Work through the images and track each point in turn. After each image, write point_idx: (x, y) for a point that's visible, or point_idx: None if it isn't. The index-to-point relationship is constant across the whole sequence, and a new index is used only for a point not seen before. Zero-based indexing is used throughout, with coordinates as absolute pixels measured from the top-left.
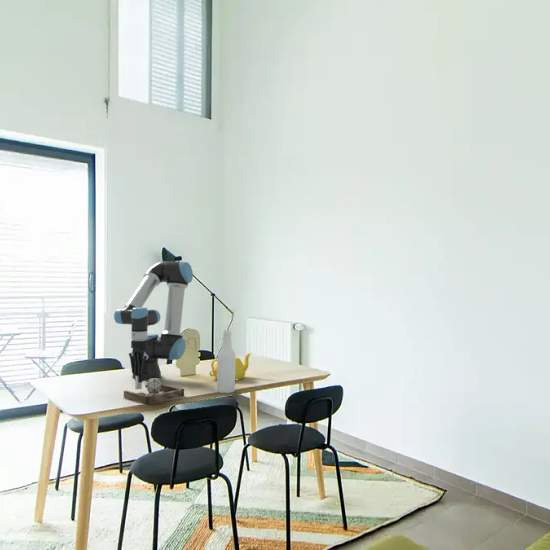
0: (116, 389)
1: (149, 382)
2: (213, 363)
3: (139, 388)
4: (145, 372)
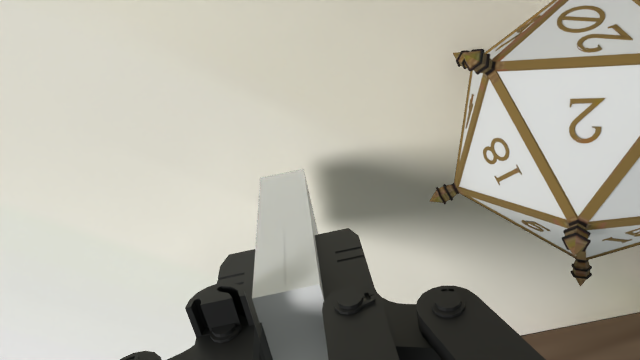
0: (5, 327)
1: (625, 240)
2: None
3: (312, 209)
4: (496, 326)
